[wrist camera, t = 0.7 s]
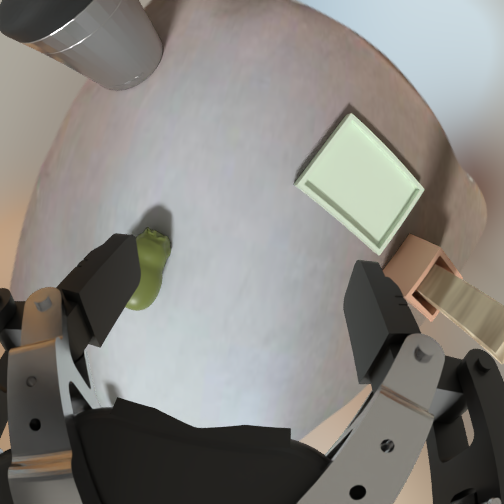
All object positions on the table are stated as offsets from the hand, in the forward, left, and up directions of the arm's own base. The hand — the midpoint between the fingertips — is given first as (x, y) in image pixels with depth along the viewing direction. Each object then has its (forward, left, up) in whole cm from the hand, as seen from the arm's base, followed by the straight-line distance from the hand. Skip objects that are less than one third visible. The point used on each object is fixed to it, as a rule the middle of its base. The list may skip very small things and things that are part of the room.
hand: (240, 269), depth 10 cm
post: (+15, +22, -22) cm, 34 cm away
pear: (+5, -12, -23) cm, 26 cm away
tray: (+2, +16, -22) cm, 27 cm away
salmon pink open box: (+15, +22, -22) cm, 35 cm away
